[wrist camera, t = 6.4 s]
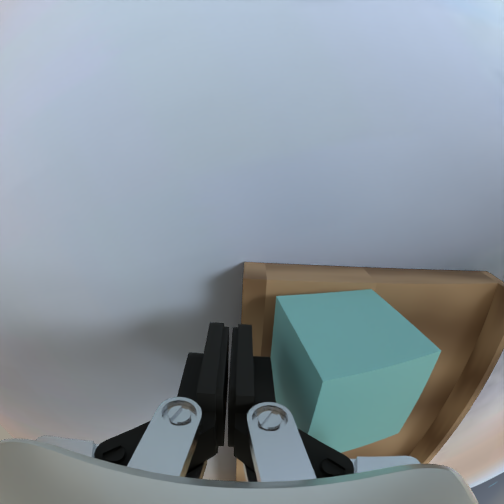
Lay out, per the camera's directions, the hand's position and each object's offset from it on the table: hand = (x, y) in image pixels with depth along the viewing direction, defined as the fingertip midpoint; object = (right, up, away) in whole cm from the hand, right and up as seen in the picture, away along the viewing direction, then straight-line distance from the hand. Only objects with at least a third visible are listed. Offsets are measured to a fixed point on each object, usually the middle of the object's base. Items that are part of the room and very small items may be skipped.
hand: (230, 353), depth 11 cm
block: (+4, 0, +1) cm, 4 cm away
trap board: (+7, -8, +7) cm, 13 cm away
